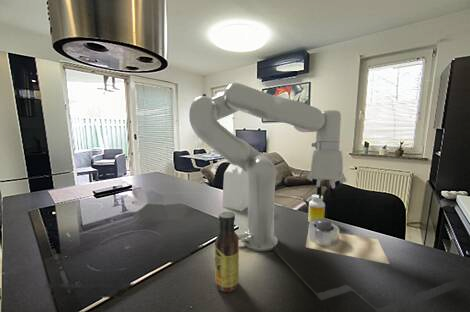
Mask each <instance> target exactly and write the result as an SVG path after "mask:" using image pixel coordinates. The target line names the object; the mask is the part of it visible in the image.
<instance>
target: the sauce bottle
mask: <svg viewBox="0 0 470 312" xmlns="http://www.w3.org/2000/svg"><path fill="white" fill-rule="evenodd" d="M218 220H219V230H218V233H217V236H216V238H215V242H214V274H215V275H214V281H215V285H216V287H217V289H218V290H219V291H220V292H225V293H227V292H232V291H234V290H236V289H237V287H238V284H239V279H240V278H239V277H240V275H239V273H240V271H239V270H240V263H239V261H240V259H239V257H240V255H239V253H240V248H239V240H238V236H237V234H238V233H237V234H236V232H235V220H236V215H235V213H234V212H232V211H222V212H220V213H219V215H218Z"/></svg>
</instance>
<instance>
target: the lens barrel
mask: <svg viewBox="0 0 470 312" xmlns="http://www.w3.org/2000/svg"><path fill="white" fill-rule="evenodd" d="M308 230H309V232H307V236H308V237H309V240H310V241H311V242H313V243H314V244H317V245H320V246H324V247H333V246H337V244H338V243H339V233H340V227H338V225H336V224H334V223H332V225H331V230H330V231H325V230H320V229H317V228H316V221H312V222H309V223H308Z"/></svg>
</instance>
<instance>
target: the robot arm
mask: <svg viewBox="0 0 470 312" xmlns="http://www.w3.org/2000/svg"><path fill="white" fill-rule="evenodd" d="M239 111H240V112H242V113H244V114H247V115H250V116H254V117H257V118H259V119H262V120H266V121H273V122H274V121H275V122H280V123H283V124H284V123H285V124H287V125H291V126H293V127H294V129H295V130H296V131H298V132H301V133H314V132H315V133H316V137H315V139H316V141H315V142H312V143H311V147H313V148H315V149H313V151H312V155H311V162H310V163H311V165H310V171H309V172H308V174H307V177H306V179H307V180H309V181H311V182H312V183H313V184H314V185H315V186H316V195H319V198H321V196H322V189H323V187H322V184H321V181H322V180H327V181H330V186H329V190H328V193H329V194H328V199H329V200H332V198H333V197H335V188H336V187H337V186H339V185H340V184H343V183H346V182H347V179H346V176H345V174H344V172H343V169H344V167H343V166H344V165H343V163H344V161H343V153H342V152H343V151H342V150H340V144H341V143H340V140H341V126H342V125H341V124H342V123H341V121H342V113H341V111H339V110H336V109H335V110H333V109H332V110H329V109H328V110H320V109H319V108H318V107H315V106H312V105H309V104H307V103H304V102H302V101H298V100H294V99H291V98H290V99H289V98H285V97H281V96H278V95H273V94H270V93H268V92H265V91H261V90H258V89H256V88H253V87H250V86H248V85H245V84H243V83H239V82H232V83H230V84H228V85H227V86H226V88H225V89H224V91H223V93H222V94H219V95H218V96H214V97H212V98H211V97H209V96H207V95H201V96H198V97H196V98H195V99H194V100H193V101H192V102H191V105H190V107H189V112H188V113H189V115H188V116H189V123H190V127H191V128H192V130H193V132H194V134H195V135H196V136H197V137H198V139H200V140H201V141H202V142H203V143H205V144H206V145H207V146H208V147H210V149H212V150H213V151H215V152H216V153H217V154H218V155H220V156H221V157H222V158H224V159H225V161H227V162H228V163H229V164H230V163H231V164H233V165H238V166H239V167H240V168H242V169H243V170H244V171H246V172H247V173H248V207H247V228H245V229H244V231H245V232H244V231H243V232H242V233H237V236H238V240H240V242H241V243H243V244H244V246H246V247H247V249H250V250H252V251H257V252H269V251H272V250H274V249H275V248H274V247H275V246H276V245H278V241H279V239H278V238H277V237H276V236H275V235H274V233H275V231H274V230H275V228H274V227H275V189H276V180H277V169H276V166H275V164H274V163H273V162H272V161H271V160H270V159H269V158H268V157H266V156H265V155H264V154H263V153H261V152H260V151H258V150H257V149H256V148H255V147H254V146H252V145H250V144H249V143H248V142H246V141H245V140H244V139H242V138H240V137H238V136H236V135H235V134H234V133H232V132H231V131H229V130H228V129H227V128H226V127H224V126H223V125H222V124H220V122H219V121H220V120H221V119H224V118H226V117H229V116H230V115H233V114H235V113H237V112H239Z"/></svg>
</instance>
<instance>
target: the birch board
mask: <svg viewBox="0 0 470 312" xmlns="http://www.w3.org/2000/svg"><path fill="white" fill-rule="evenodd" d="M307 231H308V232H309V229H307ZM308 232H307V233H308ZM305 248H308V249H312V250H317V251H322V252H327V253H331V254H336V255H341V256H347V257H352V258H356V259H361V260H367V261H370V262H376V263H381V264H387V265H390V261H389V259H388V257H387V255H386V254H385V251H384V249H383V247H382V245H381V242H380V241H379V239H378V238H373V237H372V238H371V237H366V236H359V235H353V234H348V233H342V232H339V243H338V244H337V246H333V247H324V246H320V245H317V244H314V243H313V242H311V241H310V240H309V237H308V235H307V236H306V241H305Z"/></svg>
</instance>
